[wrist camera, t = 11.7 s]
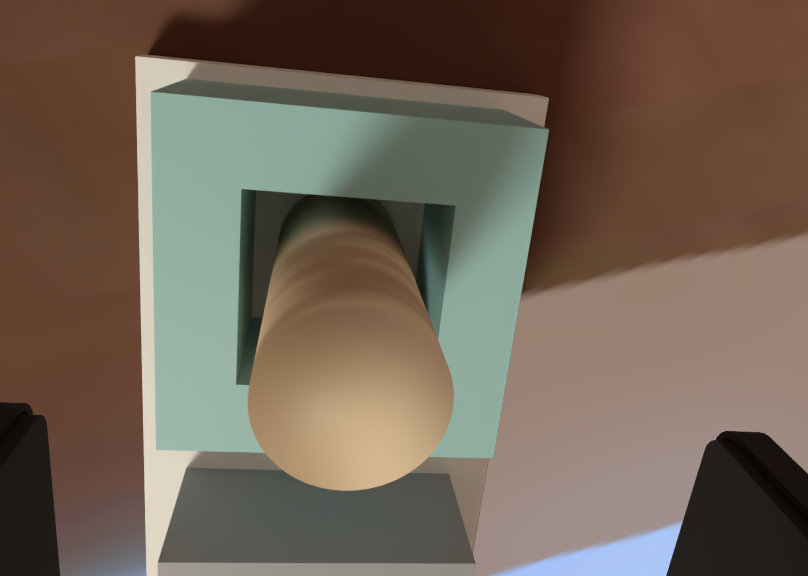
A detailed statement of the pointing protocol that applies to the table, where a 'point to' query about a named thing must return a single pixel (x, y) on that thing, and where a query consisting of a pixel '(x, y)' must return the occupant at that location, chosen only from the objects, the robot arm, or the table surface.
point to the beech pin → (346, 352)
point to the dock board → (248, 287)
